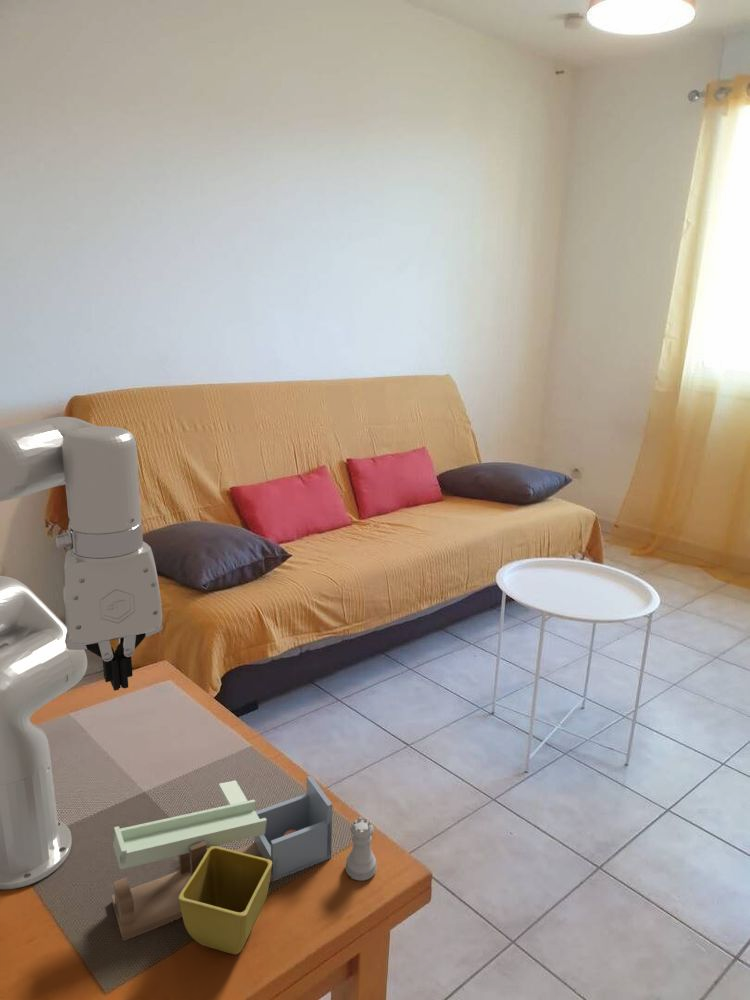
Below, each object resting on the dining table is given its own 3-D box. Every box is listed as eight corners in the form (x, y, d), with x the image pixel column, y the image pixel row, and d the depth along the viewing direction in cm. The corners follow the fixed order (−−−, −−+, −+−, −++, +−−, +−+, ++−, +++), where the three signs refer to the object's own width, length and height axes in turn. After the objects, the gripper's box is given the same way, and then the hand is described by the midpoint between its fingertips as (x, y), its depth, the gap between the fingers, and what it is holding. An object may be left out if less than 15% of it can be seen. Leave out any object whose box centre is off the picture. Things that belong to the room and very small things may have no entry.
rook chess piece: (357, 853, 105) (359, 807, 102) (383, 867, 102) (385, 821, 100) (338, 872, 101) (339, 825, 99) (364, 888, 99) (365, 840, 96)
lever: (102, 811, 97) (104, 795, 96) (236, 784, 107) (238, 769, 106) (120, 869, 88) (121, 851, 87) (264, 834, 98) (267, 817, 97)
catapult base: (112, 901, 95) (106, 840, 92) (254, 848, 105) (253, 790, 102) (123, 941, 89) (117, 877, 87) (272, 880, 99) (272, 821, 96)
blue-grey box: (254, 847, 105) (253, 794, 102) (310, 826, 109) (311, 775, 107) (273, 881, 99) (272, 825, 96) (331, 857, 104) (332, 804, 101)
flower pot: (244, 975, 86) (244, 916, 83) (178, 955, 88) (176, 897, 85) (272, 915, 94) (273, 859, 91) (211, 898, 96) (210, 844, 93)
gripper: (37, 560, 73) (55, 717, 78) (183, 539, 80) (190, 683, 86) (30, 537, 79) (46, 684, 85) (166, 520, 87) (173, 655, 92)
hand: (118, 683), depth 85 cm, fingers closed
